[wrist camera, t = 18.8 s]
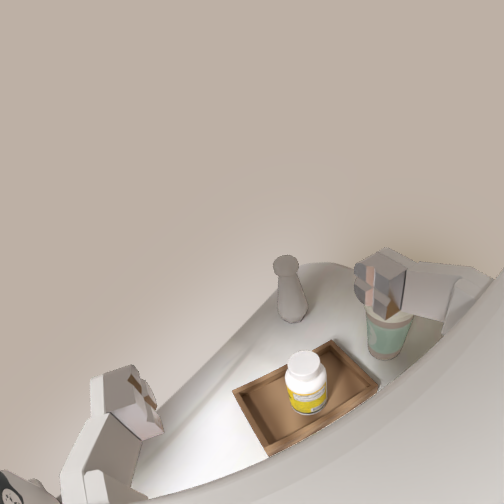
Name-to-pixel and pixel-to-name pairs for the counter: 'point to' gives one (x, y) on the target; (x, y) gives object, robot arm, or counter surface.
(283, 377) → the tray
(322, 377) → the supplement bottle
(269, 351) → the counter surface
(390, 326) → the coffee cup
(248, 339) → the counter surface
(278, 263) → the salt shaker
